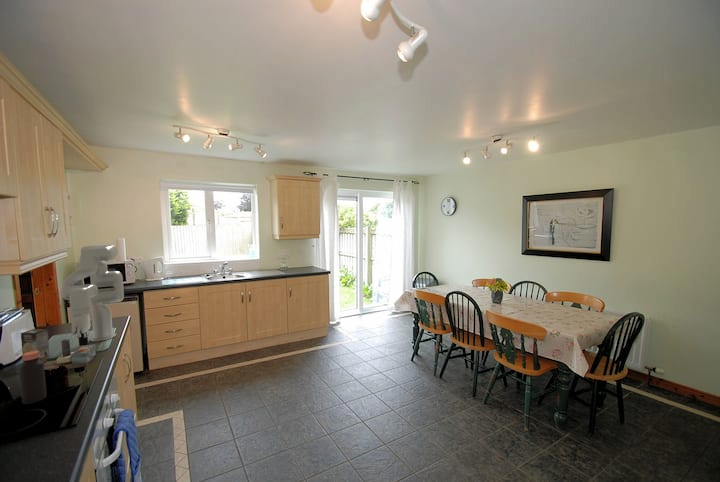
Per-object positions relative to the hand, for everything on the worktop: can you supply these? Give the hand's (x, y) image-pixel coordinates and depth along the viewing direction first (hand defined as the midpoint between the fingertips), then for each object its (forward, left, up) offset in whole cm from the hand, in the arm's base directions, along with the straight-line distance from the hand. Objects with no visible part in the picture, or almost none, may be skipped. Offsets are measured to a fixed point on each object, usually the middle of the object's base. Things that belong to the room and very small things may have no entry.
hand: (83, 344), depth 161 cm
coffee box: (-15, -25, -9) cm, 31 cm away
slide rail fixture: (+1, -8, -9) cm, 12 cm away
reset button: (+1, 0, -5) cm, 5 cm away
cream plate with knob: (+1, -7, -6) cm, 9 cm away
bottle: (+37, -4, -9) cm, 38 cm away
